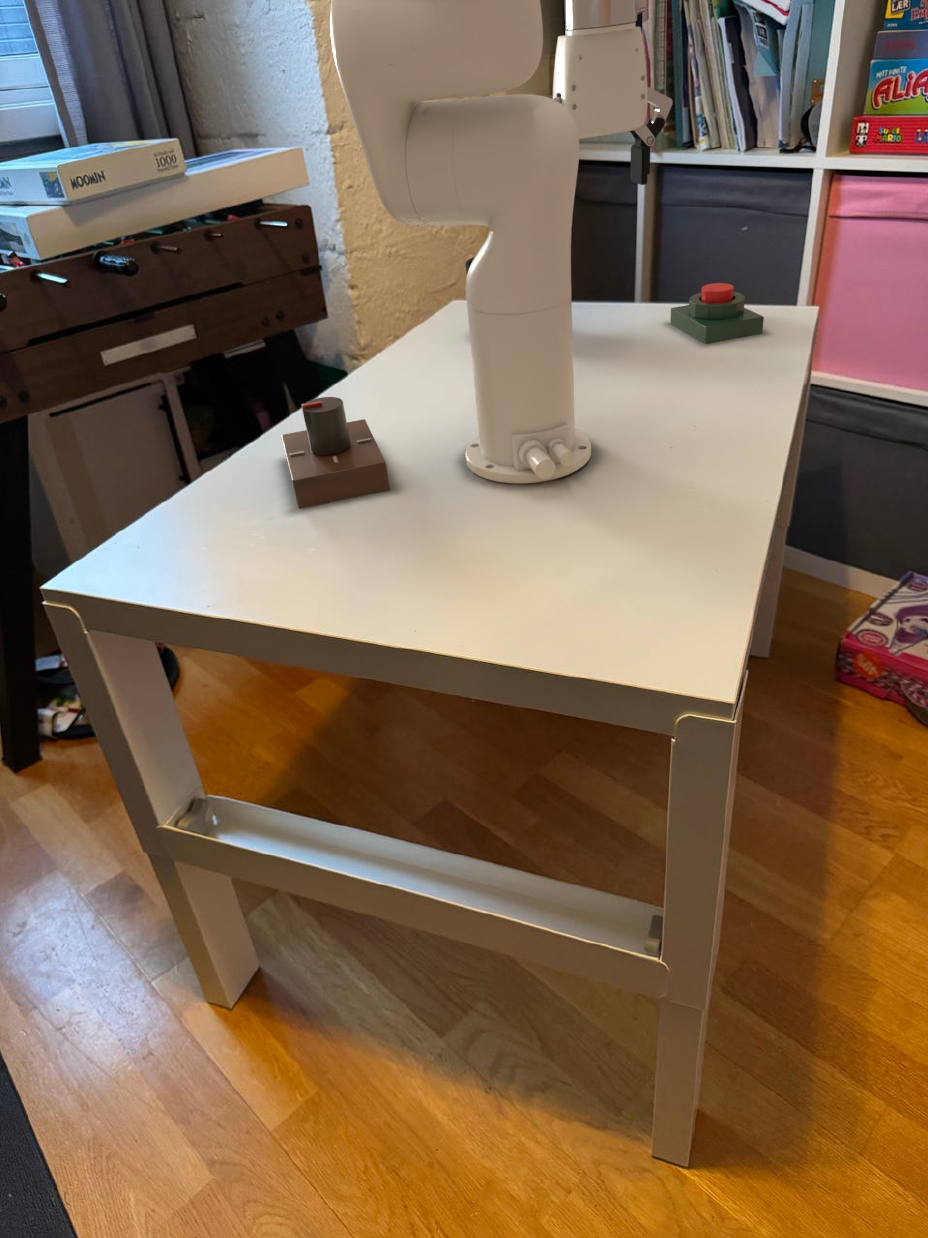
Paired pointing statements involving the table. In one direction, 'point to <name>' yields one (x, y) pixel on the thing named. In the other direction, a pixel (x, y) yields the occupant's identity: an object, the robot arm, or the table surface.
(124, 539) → the table surface
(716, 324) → the button housing
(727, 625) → the table surface
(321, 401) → the dial
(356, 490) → the control panel
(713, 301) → the button
